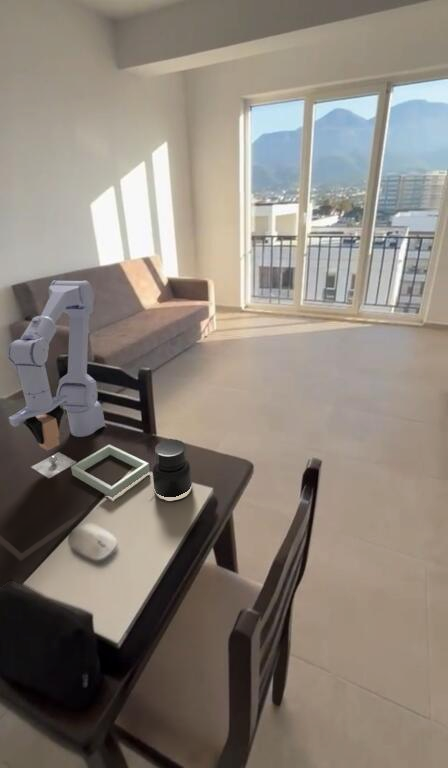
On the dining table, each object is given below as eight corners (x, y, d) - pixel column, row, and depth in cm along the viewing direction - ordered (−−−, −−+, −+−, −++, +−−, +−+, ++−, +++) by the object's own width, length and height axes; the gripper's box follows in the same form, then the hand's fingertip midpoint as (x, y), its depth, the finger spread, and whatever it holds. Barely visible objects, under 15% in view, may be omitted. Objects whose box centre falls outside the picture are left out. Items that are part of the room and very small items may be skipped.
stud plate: (59, 455, 105) (57, 444, 104) (77, 465, 101) (75, 454, 99) (31, 470, 99) (28, 458, 98) (49, 481, 95) (46, 470, 94)
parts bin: (110, 455, 105) (109, 444, 103) (150, 474, 97) (148, 463, 96) (73, 478, 96) (70, 466, 95) (113, 501, 88) (111, 489, 87)
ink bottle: (192, 475, 97) (189, 434, 92) (195, 499, 89) (193, 456, 84) (152, 480, 95) (148, 439, 90) (152, 505, 87) (147, 461, 82)
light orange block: (49, 439, 100) (43, 412, 97) (61, 445, 97) (56, 418, 94) (37, 445, 97) (30, 418, 94) (49, 451, 95) (43, 424, 91)
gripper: (54, 375, 98) (64, 421, 104) (-4, 396, 87) (11, 447, 93) (71, 381, 94) (80, 429, 100) (13, 404, 84) (27, 456, 89)
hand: (48, 438), depth 96 cm, fingers closed on light orange block, 3 cm apart
